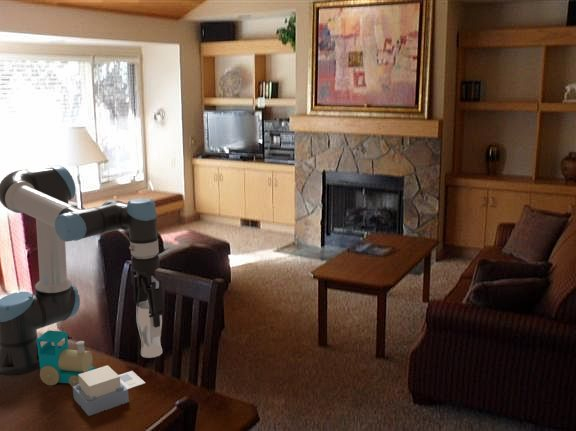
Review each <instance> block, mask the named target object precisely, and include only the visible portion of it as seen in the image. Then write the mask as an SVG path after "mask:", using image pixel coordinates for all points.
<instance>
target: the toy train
mask: <svg viewBox="0 0 576 431" xmlns="http://www.w3.org/2000/svg"><path fill="white" fill-rule="evenodd" d="M62 340H64V343H63V344H62V345H58V344H59V343H60V342H61V341H62ZM41 342H46V343H45V344H43V345H40V344H41ZM75 345H76V349H70V347H69V339H68V332H67V331H62V330H60V331H59V330H47V331H46V332H44V333H43V334H41V335H40V336H39V337H37V346H38V354H39V363H40V367H39V370H40V372H39V378H40V379H41V382H42V383H44V384H46V385H47V386H54V385H56V384H57V383H61V384H69V385H70V386H71V387H72V388H73V386H76V385H77V384H79V378H78V374H81V373H84V372H88V371H91V370H94V369H96V368H95V367H94V365H93V354H92V352H91V351H90V350H85V341H84V340H78V341H76V342H75ZM41 346H42V347H41Z"/></svg>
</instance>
